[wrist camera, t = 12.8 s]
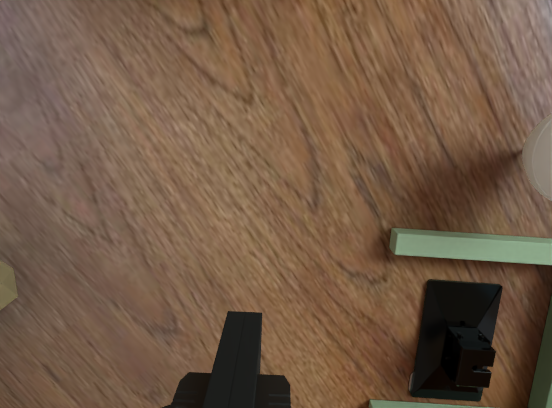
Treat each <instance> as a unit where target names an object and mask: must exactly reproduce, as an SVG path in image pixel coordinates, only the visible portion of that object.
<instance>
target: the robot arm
mask: <svg viewBox="0 0 552 408" xmlns="http://www.w3.org/2000/svg"><path fill="white" fill-rule="evenodd" d="M261 332H262V313H255V312H232V311H228V313H227V317H226V321H225V324H224V328H223V332H222V336H221V339H220V343H219V347H218V350H217V354H216V358H215V362H214V365H213V369H212V373H194V372H189V373H188V374H187V375H186V376H185V377H183V378H182V379H181V380H180V382H179V385H178V387H177V390H176V393H175V395H174V398H173V402H172V403H171V405H168V406H165V407H162V408H291V402H290V384H289V382H288V381H287V379H286V378H285V376H284V375H262V374H260V360H261Z"/></svg>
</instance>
